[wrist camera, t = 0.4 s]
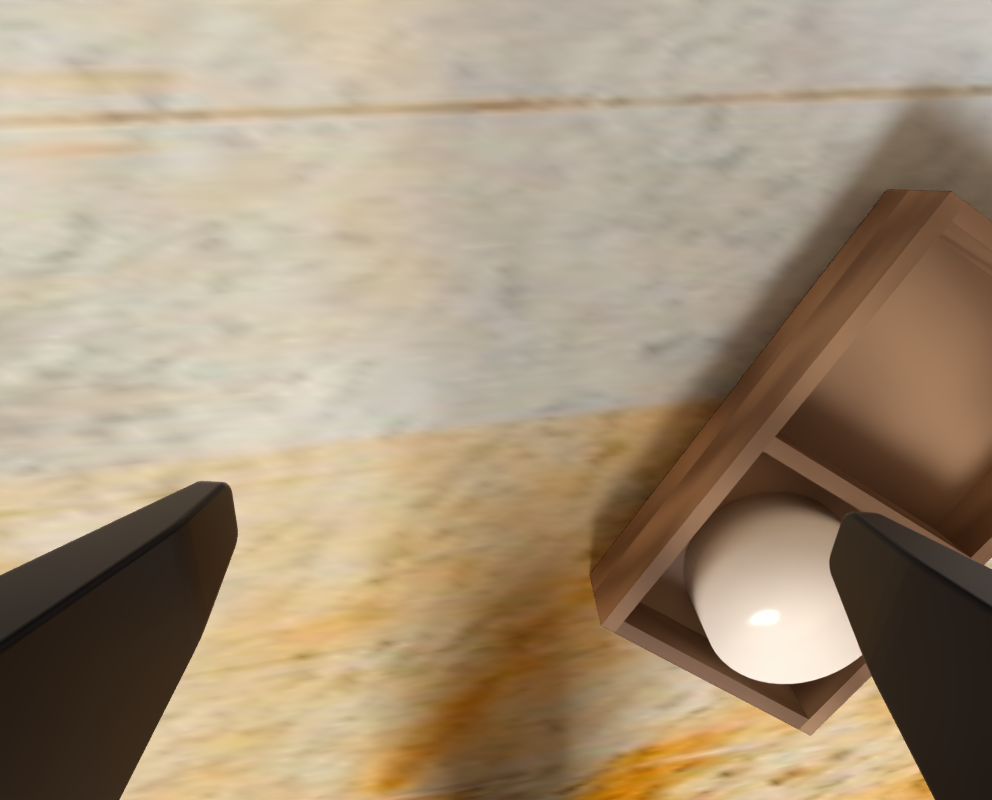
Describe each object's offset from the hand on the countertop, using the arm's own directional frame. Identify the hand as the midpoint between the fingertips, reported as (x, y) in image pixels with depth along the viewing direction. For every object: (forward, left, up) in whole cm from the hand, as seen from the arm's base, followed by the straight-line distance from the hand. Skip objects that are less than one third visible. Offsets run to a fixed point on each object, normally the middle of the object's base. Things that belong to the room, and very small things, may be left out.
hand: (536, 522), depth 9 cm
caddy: (-7, -11, -14) cm, 20 cm away
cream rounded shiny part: (-10, -9, -13) cm, 19 cm away
